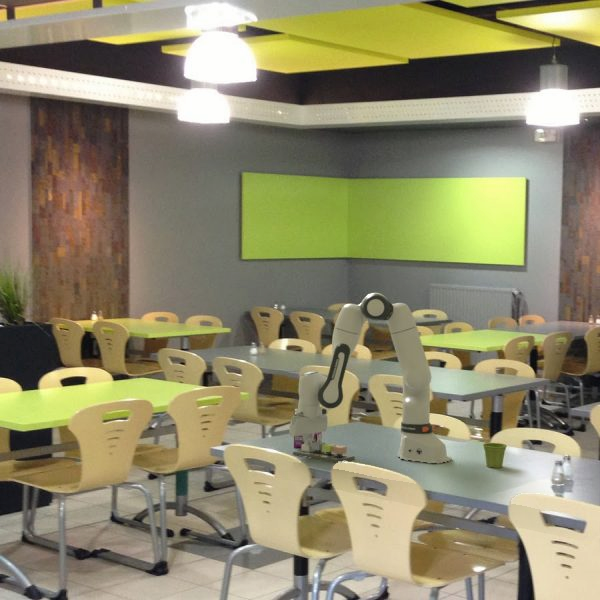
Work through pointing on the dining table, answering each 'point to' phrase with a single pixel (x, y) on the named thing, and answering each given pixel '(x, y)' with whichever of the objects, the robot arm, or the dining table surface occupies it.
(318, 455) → the keypad board
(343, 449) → the salmon cube
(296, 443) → the candy bar box
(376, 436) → the dining table surface
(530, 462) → the dining table surface
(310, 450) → the key ivory
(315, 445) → the key slate
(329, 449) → the lime green cube
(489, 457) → the plant pot
